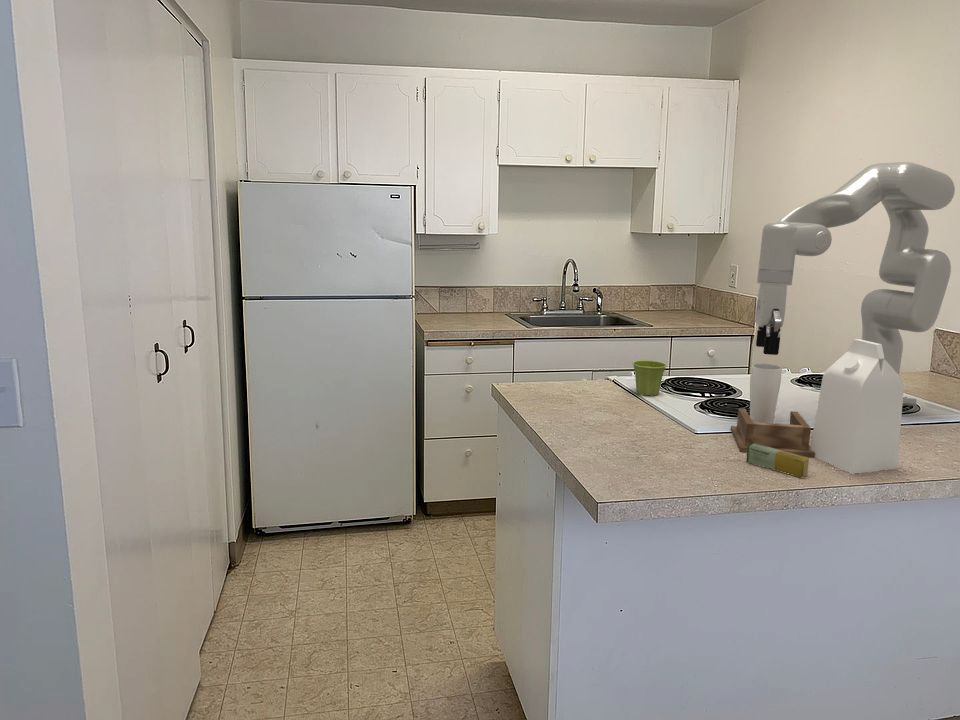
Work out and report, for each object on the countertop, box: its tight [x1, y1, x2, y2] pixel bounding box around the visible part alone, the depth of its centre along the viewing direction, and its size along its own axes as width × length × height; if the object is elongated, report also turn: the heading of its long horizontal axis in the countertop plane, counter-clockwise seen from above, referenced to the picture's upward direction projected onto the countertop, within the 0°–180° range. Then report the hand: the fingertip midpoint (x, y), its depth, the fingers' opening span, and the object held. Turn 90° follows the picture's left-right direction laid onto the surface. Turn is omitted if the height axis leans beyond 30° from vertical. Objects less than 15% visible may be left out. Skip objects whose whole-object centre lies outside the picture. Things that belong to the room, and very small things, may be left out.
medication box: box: [745, 443, 810, 478], centre depth 147 cm, size 12×3×4 cm, turn 43°
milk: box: [810, 338, 905, 475], centre depth 149 cm, size 12×12×26 cm
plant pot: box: [631, 359, 667, 397], centre depth 203 cm, size 9×9×9 cm
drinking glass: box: [749, 363, 783, 424], centre depth 173 cm, size 7×7×15 cm
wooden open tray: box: [730, 407, 815, 458], centre depth 162 cm, size 15×16×6 cm
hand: (766, 350), depth 170 cm, fingers open, 9 cm apart
